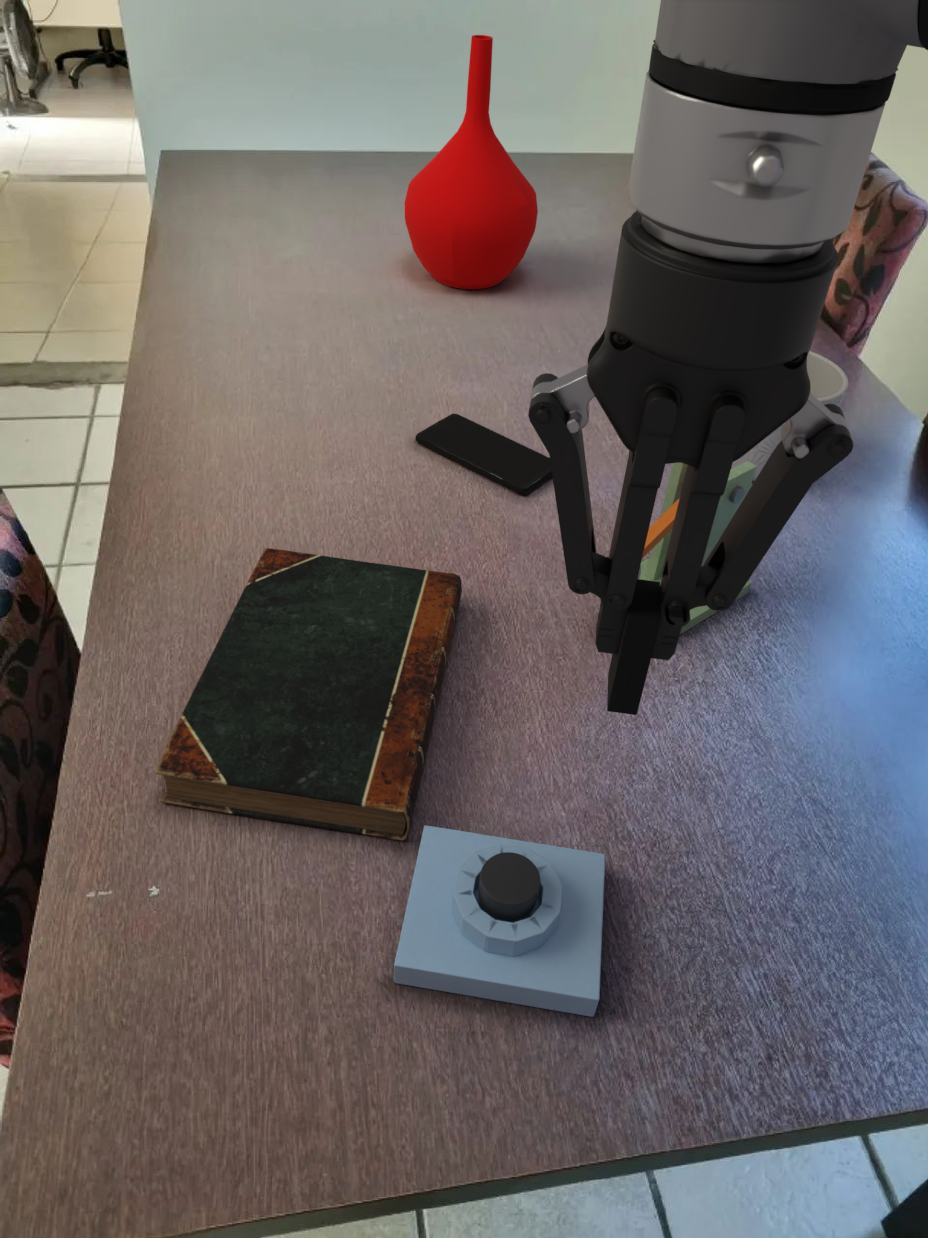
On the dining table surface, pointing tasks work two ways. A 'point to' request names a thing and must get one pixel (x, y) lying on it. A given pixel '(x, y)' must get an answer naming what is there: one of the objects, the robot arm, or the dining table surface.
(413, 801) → the book
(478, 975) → the button housing
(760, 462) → the planter
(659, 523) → the switch lever
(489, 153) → the vase
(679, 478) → the switch bracket
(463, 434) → the smartphone
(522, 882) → the button
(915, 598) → the dining table surface
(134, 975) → the dining table surface
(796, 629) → the dining table surface
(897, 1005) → the dining table surface
